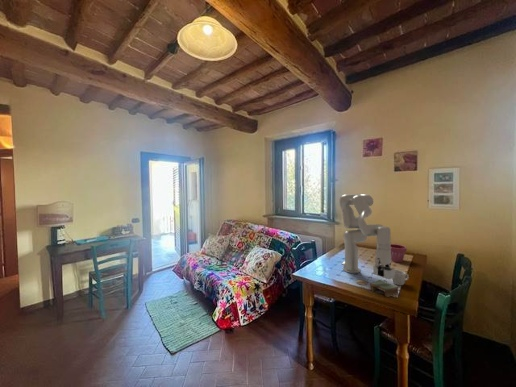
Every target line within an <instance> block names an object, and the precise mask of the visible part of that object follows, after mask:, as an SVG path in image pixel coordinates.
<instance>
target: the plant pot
mask: <svg viewBox="0 0 516 387" xmlns="http://www.w3.org/2000/svg"><path fill="white" fill-rule="evenodd" d="M405 253H407V246H405V245H402V244H396V243H393V244H391V260H392V262H396V263H403V261H404V259H405V255H406V254H405Z"/></svg>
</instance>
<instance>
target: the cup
mask: <svg viewBox="0 0 516 387" xmlns="http://www.w3.org/2000/svg"><path fill="white" fill-rule="evenodd" d="M406 281H409V274H408V273H406V272H405V271H403V270H398V269H395V277H394V278H392V284H393V285H394V284H395V285H396V286H397V285H398V286H404V285H405V282H406Z"/></svg>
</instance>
